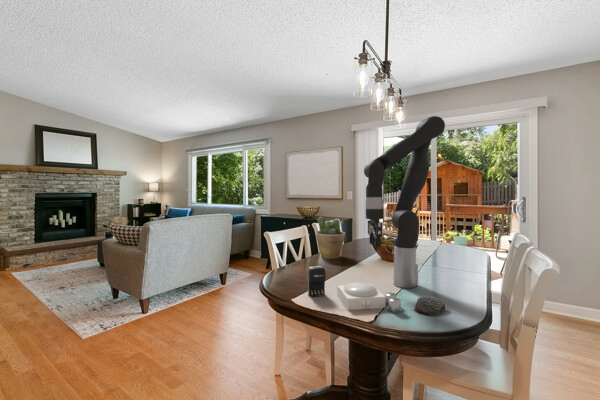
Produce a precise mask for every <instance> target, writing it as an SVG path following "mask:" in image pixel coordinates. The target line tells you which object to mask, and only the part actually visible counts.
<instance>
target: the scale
mask: <svg viewBox="0 0 600 400" xmlns="http://www.w3.org/2000/svg"><path fill="white" fill-rule="evenodd" d="M336 297H338V299H339V301H341V303H342V304H343V306H344V307H345V308H346V310H347V311H353V310H354V311H355V310H357V311H358V310H369V309H371V310H372V309H385V308H386V305H385V294H383V293H382V292H381V291H380V290H378V289H377V288H376V287H375V285H374V286H373V285H372V284H371V283H363V282H351V283H347V284H343V285H341V284H339V285H336Z"/></svg>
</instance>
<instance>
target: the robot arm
mask: <svg viewBox="0 0 600 400" xmlns="http://www.w3.org/2000/svg"><path fill="white" fill-rule="evenodd" d="M445 129H446V122H445V121H444V119H443V118H442V117H440V116H438V115H437V116H436V115H433V116H429V117H427V118H424V119H422V120H421V121H419V123H418V124H417V125H416V128H415V131H414V132H413V133H412V134H410V135H409V136H407V137H405V138H403V139H402V140H400V141H399V142H397V143H395V144H393V145H392V146H391V147H390V148H388V149H387V150H385V151H384V152H383V153H382V154H381V155H380V156H378V157H376V158H375V159H372V161H370V162H368V163H367V164H366V165H365V166H364V169H363V173H364V176H365V177H366V178H368V181H367V184H366V186H365V219H366V220H367V234H368V236H369V244H370V245H374V246H375V248H381V247H382V243H381V241H382V239H381V238H383V236H384V235H383V234H384V233H383V230H384V228H383V222H380V220H383V219H384V218H385V217H384V216H385V214H384V197H383V195H384V193H383V191H384V190H383V186H384V185H383V184H384V179H385V172H386V170H388V169H389V168H391V167H394V166H395V165H397V164H398V163H399V162H400V161H402V160H403V159H404V158H406V157H407V156H408V155H409V160H408V164H407V167H406V170H405V174H404V179H403V182H402V186H401V190H400V193H399V197H398V201H397V202H396V205H395V208H394V210H393V213H392V216H391V223H392V226H393V227H394V228H395V229H397V237H396V238H394V240H393V285H394V286H397V287H399V288H405V289H411V288H416V287H418V286H419V283H418V282H419V280H418V279H419V265H418V264H417V243H418V241H419V232H420V229H419V228H420V222H419V221H420V220H419V216H418V215H417V213H416V212H415V211H413V208H414V204H415V202H416V200H417V198H418V197H419V195H420V194H421V192H422V191H423V190H424V188H425V185H426V183H427V179H428V176H429V171H430V162H429V161H430V160H429V149H430V146H431V142H432V140H433V139H436V138H438V137H439V136H441V135H442V134H443V132H445Z"/></svg>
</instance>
